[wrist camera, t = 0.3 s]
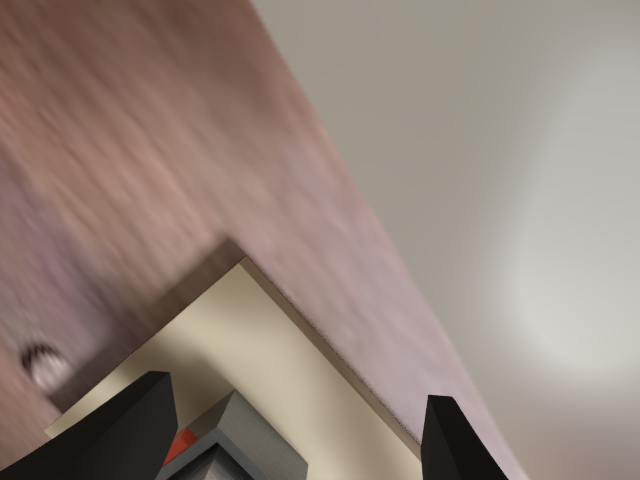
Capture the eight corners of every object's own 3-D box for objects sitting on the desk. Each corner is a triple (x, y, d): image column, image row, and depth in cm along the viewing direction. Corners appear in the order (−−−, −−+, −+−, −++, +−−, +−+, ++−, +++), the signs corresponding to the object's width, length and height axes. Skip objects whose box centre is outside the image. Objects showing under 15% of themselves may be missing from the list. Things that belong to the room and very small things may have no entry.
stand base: (237, 581, 26) (230, 606, 25) (62, 414, 24) (43, 431, 23) (431, 459, 23) (436, 479, 22) (246, 255, 21) (238, 263, 20)
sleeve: (232, 515, 23) (215, 568, 20) (154, 438, 22) (124, 481, 20) (308, 464, 22) (302, 512, 19) (228, 380, 21) (208, 417, 18)
